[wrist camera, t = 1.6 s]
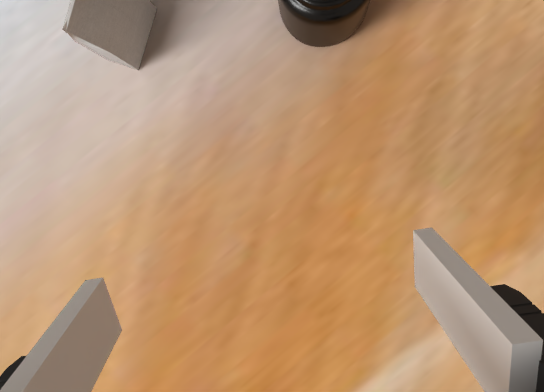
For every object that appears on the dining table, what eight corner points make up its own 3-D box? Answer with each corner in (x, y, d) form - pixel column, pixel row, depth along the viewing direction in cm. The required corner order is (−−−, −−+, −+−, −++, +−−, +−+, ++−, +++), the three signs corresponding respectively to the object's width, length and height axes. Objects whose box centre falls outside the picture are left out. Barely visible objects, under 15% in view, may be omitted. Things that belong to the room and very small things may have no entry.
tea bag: (157, 8, 41) (108, -45, 31) (138, 70, 41) (85, 37, 32) (125, -1, 41) (67, -58, 31) (107, 60, 42) (45, 24, 32)
